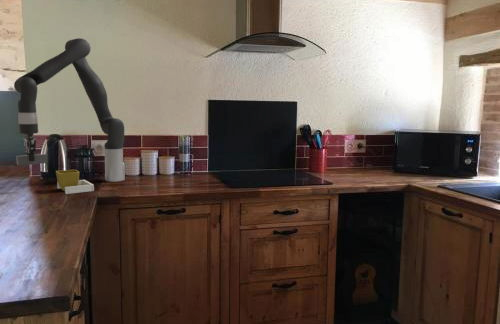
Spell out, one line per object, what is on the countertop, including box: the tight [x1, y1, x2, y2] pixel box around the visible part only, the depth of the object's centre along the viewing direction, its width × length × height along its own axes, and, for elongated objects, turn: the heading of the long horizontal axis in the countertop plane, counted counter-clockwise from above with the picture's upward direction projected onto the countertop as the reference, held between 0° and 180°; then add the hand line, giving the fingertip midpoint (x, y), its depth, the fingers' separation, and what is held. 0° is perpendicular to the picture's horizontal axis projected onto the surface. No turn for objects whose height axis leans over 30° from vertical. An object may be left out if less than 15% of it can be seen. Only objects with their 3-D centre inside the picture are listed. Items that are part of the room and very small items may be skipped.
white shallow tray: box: [56, 179, 95, 195], centre depth 193 cm, size 12×15×3 cm
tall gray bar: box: [15, 153, 48, 167], centre depth 186 cm, size 12×3×4 cm, turn 129°
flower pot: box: [55, 169, 80, 192], centre depth 192 cm, size 9×9×9 cm
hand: (31, 160), depth 186 cm, fingers closed on tall gray bar, 3 cm apart
